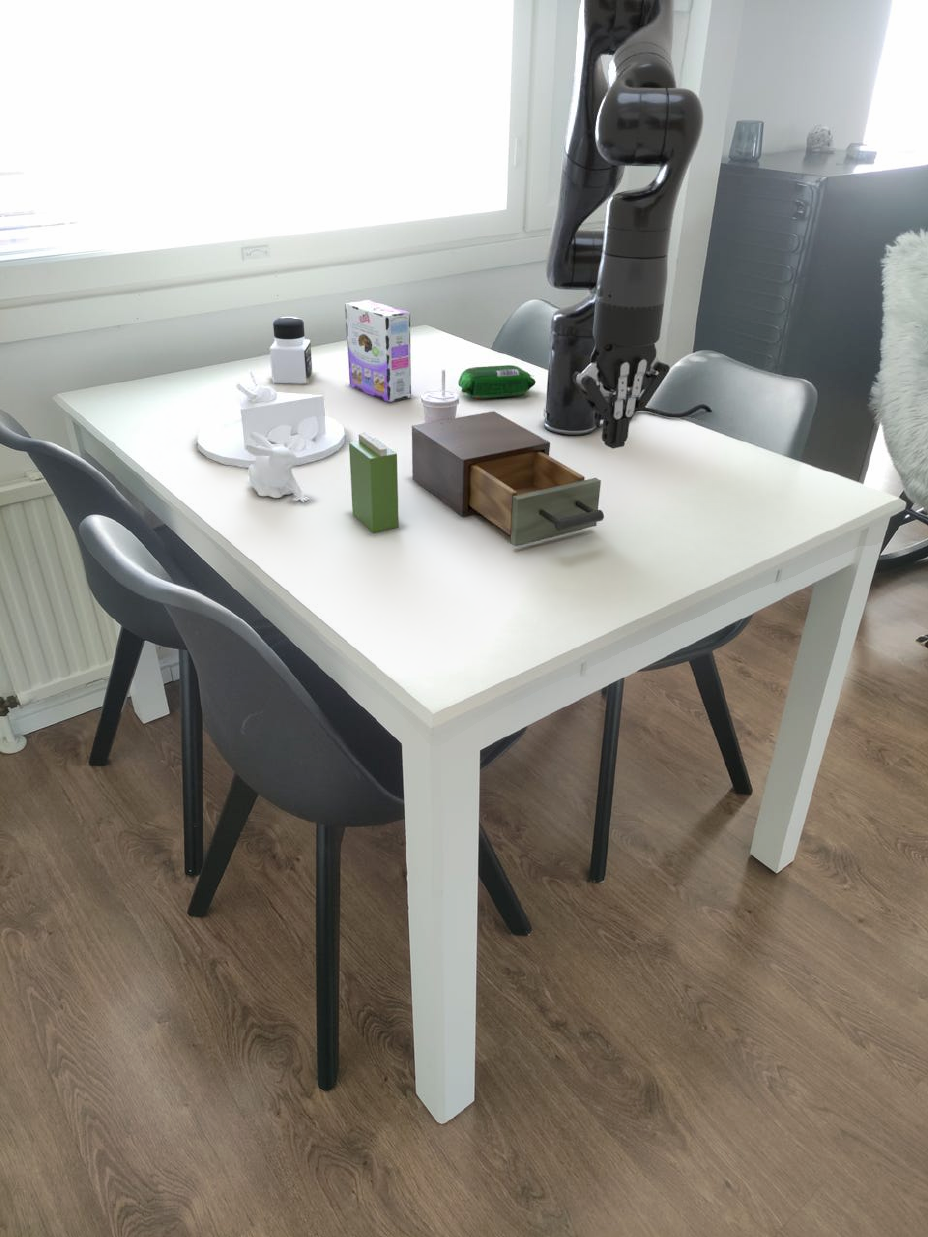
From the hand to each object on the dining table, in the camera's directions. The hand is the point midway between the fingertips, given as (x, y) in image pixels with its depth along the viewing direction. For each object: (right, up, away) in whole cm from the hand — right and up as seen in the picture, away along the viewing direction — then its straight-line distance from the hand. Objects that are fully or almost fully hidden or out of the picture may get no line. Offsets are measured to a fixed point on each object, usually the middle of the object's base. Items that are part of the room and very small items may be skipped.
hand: (614, 445), depth 110 cm
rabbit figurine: (-47, -2, +29) cm, 56 cm away
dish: (-51, +10, +48) cm, 71 cm away
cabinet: (-16, -1, +32) cm, 36 cm away
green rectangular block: (-31, -7, +21) cm, 38 cm away
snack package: (-12, +23, +72) cm, 76 cm away
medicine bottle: (-53, +28, +78) cm, 99 cm away
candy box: (-35, +24, +72) cm, 83 cm away
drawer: (-8, -7, +19) cm, 22 cm away
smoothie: (-22, +7, +45) cm, 50 cm away
